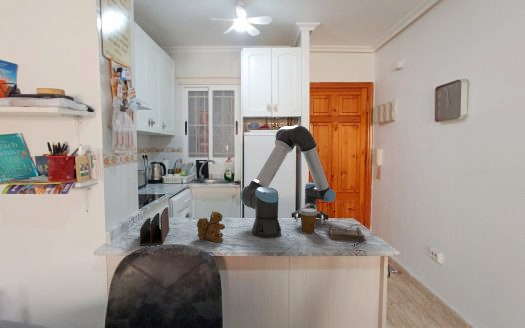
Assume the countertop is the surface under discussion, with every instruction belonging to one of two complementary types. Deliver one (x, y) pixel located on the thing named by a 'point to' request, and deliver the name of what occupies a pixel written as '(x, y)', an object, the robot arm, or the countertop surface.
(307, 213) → the disposable coffee cup
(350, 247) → the countertop surface
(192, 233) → the countertop surface
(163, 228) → the letter holder
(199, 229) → the stuffed squirrel
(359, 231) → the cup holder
